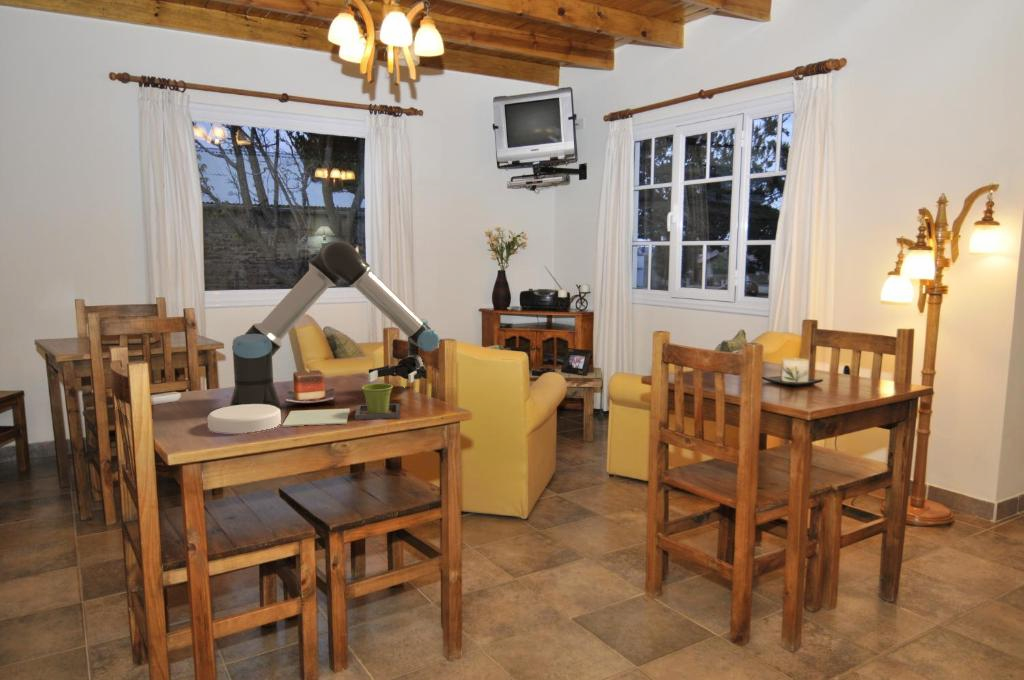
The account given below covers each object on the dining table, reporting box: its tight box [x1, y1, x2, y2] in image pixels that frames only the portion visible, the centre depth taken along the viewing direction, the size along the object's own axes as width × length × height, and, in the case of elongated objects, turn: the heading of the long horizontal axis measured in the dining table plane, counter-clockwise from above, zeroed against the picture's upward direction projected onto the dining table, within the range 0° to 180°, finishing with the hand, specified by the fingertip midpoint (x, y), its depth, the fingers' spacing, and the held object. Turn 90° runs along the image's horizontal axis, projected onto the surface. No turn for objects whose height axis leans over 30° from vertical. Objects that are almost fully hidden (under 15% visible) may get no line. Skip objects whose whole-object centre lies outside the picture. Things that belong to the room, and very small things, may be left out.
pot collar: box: [354, 403, 401, 421], centre depth 222 cm, size 13×13×2 cm
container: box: [206, 404, 282, 433], centre depth 208 cm, size 20×20×5 cm
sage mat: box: [281, 408, 350, 428], centre depth 217 cm, size 18×18×1 cm
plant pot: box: [361, 383, 394, 414], centre depth 221 cm, size 9×9×9 cm
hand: (389, 378), depth 230 cm, fingers open, 13 cm apart
